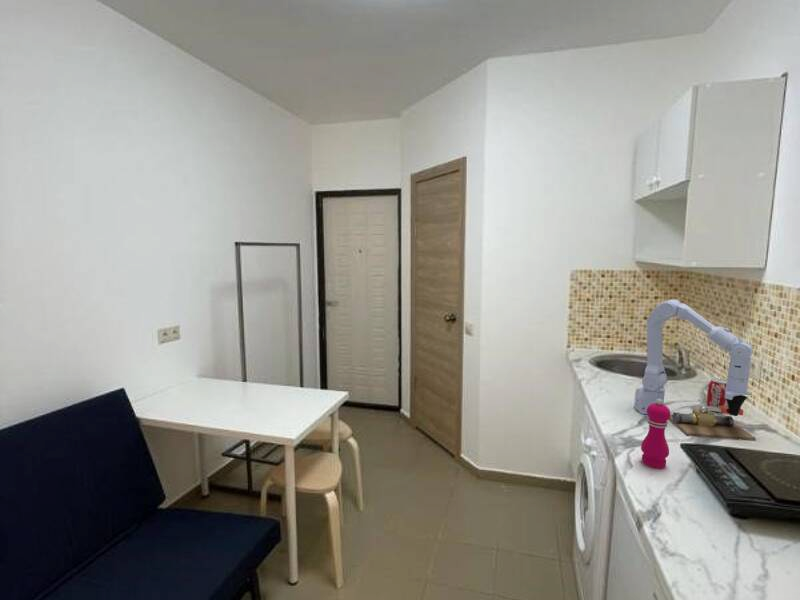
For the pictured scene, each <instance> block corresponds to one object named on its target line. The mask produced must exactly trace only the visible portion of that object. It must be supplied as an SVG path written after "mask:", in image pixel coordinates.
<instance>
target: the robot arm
mask: <svg viewBox="0 0 800 600" xmlns="http://www.w3.org/2000/svg"><path fill="white" fill-rule="evenodd" d="M674 317H675V319H678V320H686V321H688V322H689V323H691V324H692V325H694V326H695V327H697V328H699V330H700V329H701V331H703V332H704V333H706V334H707V337H708V340H710V341H712V343H714V344H715V345H717V346H718V347H719V348H721V349H722V350H724V351H725V352H728V355H729V357H730V358H729V362H728V370H727V378H726V380H727V385H726V388H725V391H726V393H725V395H724V396H725V398H726V400H727V403H728V407H729V414H728V416H734V417H738V416H739V415H738V414H739V411H740V408H741V409H742V405H743V404H744V402H745V401H747V399H748V396H750V395H752V392H751V391H749V390H748V387H749V378H750V372H751V365H750V364H751V356H753V354H754V353H753V352H754V347H753V346H752V345H751V344H750V342H748V341H745V340H743V338H741V337H737V336H736V335H735V334H733V333H732V332H730V329H729V328H728V327H723V326H714V325H713V324H712V323H711V322H709V321H708V320H707V319H706V318H705V317H703V316H701V315H700V314H699V313H698V312H697V311H695V310H694V309H692V308H691V307H689V306H688V305H687V304H685V303H682V302H681V301H680V300H678V299H674V298H672V299H668V300H665V301H661V302H660V303H658V304H656V305H655V306H654V308H653V309H652V312H651V313H650V314H649V316H647V319H646V360H647V361H646V362H647V363H646V364H647V365H646V367H645V370H644V374H643V375H644V376H643V377H642V381H641V383H642V386H643V387H637V388H636V389H635V394H634V403H633V407H634V408H635V410H636V411H638V412H639V413H640V414H642V415H647V408H648V406H649V405H651V404H653V403H656V400H657V399H661V400H662V401H663V405H665V392H666V389H665V385H666V384H667V383H668V376H667V373H666V371H665V369H666V368H665V366H664V365H663V363H664V362H663V357H664V356H663V347H664V345H663V325H664V323H666V322H667V321H669V319H671V318H674ZM746 395H747V396H746Z"/></svg>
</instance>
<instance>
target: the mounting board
mask: <svg viewBox="0 0 800 600" xmlns="http://www.w3.org/2000/svg"><path fill="white" fill-rule="evenodd" d="M672 416H673V414H671V415H670V418H669V419H668V421H670V422H671V423H672V424H673V425H674V426H675V427H677V428H678V429H679V430H680V431H681V432H682V433H683V434H684V435H685V436H686V437H688V436H689V437H700V438H711V439H713V438H714V439H728V440H739V439H741V441H753V440H755V441H756V436H754V435H752V434H751V433H749V432H748V431H747V430H745V429H743V427H740V426H739V425H738V424H736V423H735V422H734V425H733V427H728V426H721V425H716V426H713V427H702V426H697V425H695V424H691V423H674V422H673V418H672Z"/></svg>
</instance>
